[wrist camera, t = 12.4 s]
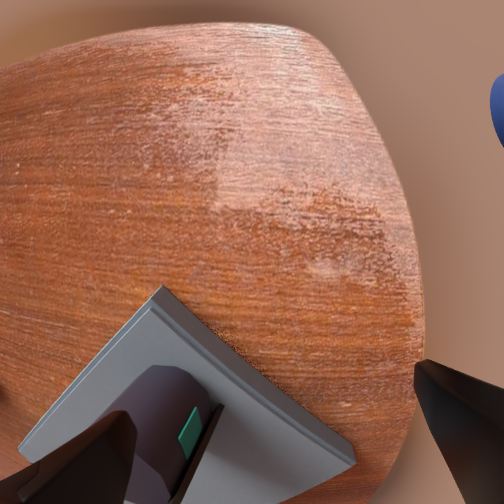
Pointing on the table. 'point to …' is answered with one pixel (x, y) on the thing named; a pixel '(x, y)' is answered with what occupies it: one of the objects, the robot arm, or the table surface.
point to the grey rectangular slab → (220, 391)
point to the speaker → (166, 432)
